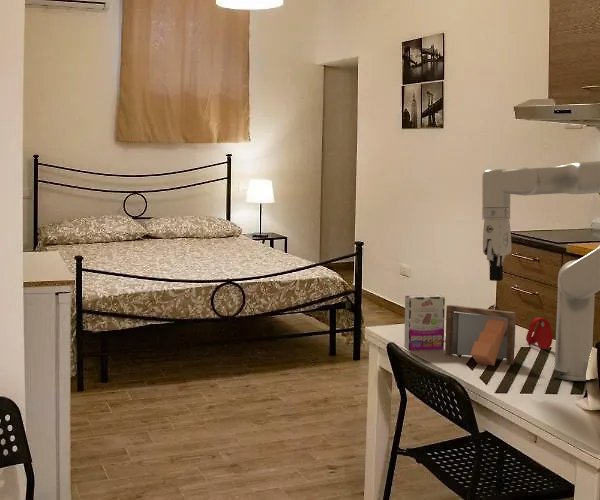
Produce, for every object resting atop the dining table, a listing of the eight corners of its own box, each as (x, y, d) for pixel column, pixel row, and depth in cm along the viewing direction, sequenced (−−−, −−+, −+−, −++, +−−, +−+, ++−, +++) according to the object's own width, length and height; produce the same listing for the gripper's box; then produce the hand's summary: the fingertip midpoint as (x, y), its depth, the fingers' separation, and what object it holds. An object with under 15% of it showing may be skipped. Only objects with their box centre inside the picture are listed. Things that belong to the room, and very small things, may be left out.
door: (510, 358, 240) (512, 316, 239) (509, 359, 237) (511, 317, 236) (452, 353, 246) (454, 312, 245) (450, 354, 243) (452, 313, 242)
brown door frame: (513, 363, 234) (515, 312, 233) (510, 364, 233) (512, 313, 232) (448, 353, 247) (449, 304, 246) (444, 354, 246) (446, 305, 244)
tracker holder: (555, 352, 252) (556, 319, 251) (542, 353, 251) (543, 320, 250) (533, 345, 264) (534, 313, 263) (520, 345, 262) (522, 313, 262)
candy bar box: (438, 348, 256) (439, 294, 254) (444, 351, 251) (445, 296, 250) (403, 348, 254) (404, 294, 252) (408, 352, 249) (410, 297, 247)
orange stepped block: (507, 325, 237) (501, 315, 233) (493, 365, 231) (487, 356, 228) (491, 322, 240) (484, 313, 236) (477, 363, 235) (470, 353, 231)
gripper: (499, 215, 223) (499, 283, 224) (519, 213, 235) (518, 278, 237) (472, 214, 227) (472, 282, 229) (493, 213, 240) (493, 277, 241)
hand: (496, 280), depth 233 cm, fingers closed
